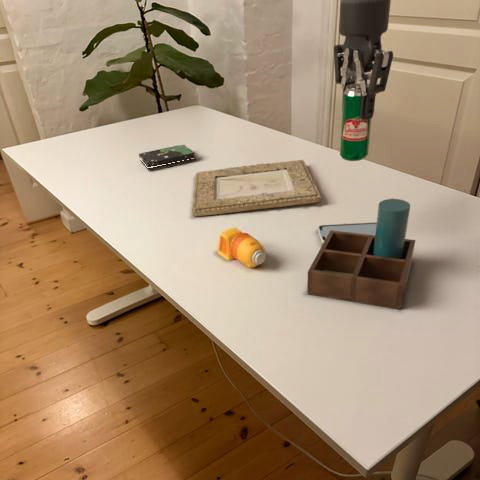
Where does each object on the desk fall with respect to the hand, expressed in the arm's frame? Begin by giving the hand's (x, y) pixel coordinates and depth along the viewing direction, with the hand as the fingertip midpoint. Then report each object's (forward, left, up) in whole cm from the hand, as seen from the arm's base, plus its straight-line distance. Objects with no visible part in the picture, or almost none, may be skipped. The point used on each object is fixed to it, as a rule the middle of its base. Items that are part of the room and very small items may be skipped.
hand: (356, 114), depth 81 cm
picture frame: (+28, -18, -24) cm, 41 cm away
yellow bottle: (+17, +15, -24) cm, 33 cm away
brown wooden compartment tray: (-6, +15, -24) cm, 28 cm away
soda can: (0, 0, -8) cm, 8 cm away
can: (-9, +11, -23) cm, 27 cm away
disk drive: (+62, -33, -24) cm, 75 cm away
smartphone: (-2, 0, -24) cm, 24 cm away
